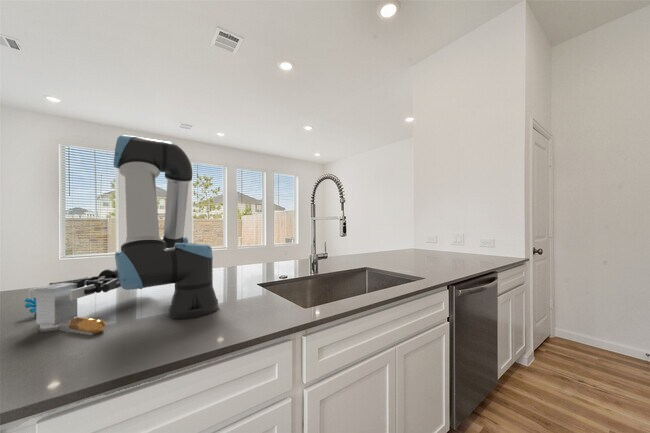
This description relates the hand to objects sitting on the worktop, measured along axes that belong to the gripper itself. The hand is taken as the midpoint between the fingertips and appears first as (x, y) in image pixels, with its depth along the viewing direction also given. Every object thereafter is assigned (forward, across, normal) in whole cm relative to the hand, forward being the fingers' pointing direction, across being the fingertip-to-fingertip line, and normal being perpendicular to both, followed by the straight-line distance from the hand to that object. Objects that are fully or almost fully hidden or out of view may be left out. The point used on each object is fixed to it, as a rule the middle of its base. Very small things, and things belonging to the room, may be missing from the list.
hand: (49, 294), depth 74 cm
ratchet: (-1, -7, -10) cm, 12 cm away
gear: (-12, +17, -10) cm, 23 cm away
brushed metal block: (-2, 0, -8) cm, 8 cm away
